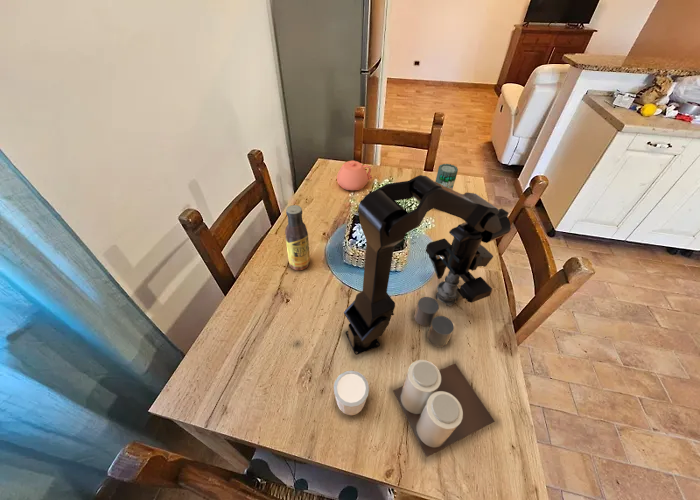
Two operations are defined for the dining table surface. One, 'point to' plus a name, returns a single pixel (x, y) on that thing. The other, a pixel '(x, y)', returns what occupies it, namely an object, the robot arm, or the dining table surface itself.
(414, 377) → the white shaker back
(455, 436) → the walnut board
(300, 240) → the sauce bottle
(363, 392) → the white candle jar
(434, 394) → the white shaker front
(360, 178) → the sugar bowl
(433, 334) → the grey jar
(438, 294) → the grey chess piece
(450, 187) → the can
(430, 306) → the grey jar
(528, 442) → the dining table surface
